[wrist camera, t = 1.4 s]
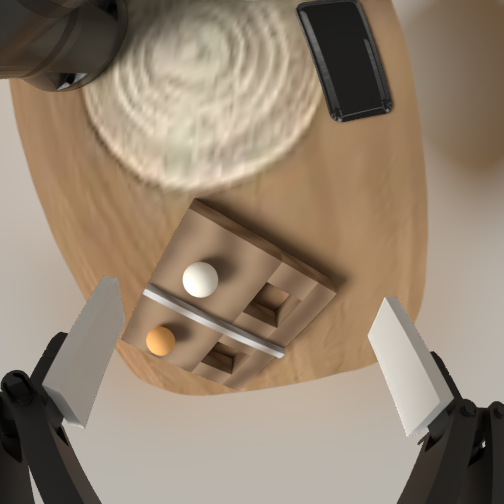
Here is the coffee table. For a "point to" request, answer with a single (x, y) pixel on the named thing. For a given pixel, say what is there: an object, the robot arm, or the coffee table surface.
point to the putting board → (226, 299)
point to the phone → (344, 58)
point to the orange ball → (160, 341)
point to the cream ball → (200, 279)
